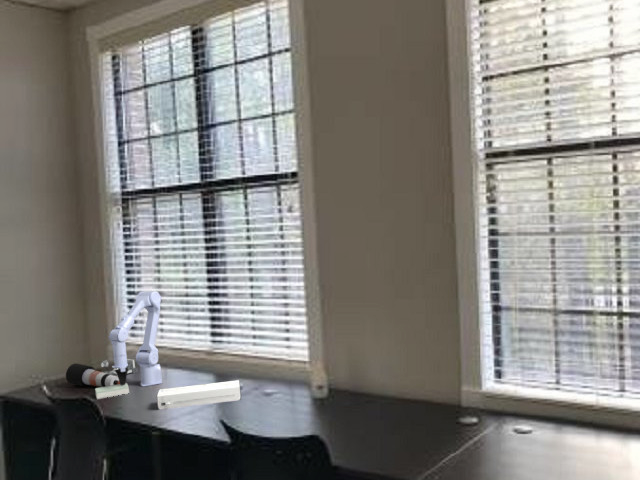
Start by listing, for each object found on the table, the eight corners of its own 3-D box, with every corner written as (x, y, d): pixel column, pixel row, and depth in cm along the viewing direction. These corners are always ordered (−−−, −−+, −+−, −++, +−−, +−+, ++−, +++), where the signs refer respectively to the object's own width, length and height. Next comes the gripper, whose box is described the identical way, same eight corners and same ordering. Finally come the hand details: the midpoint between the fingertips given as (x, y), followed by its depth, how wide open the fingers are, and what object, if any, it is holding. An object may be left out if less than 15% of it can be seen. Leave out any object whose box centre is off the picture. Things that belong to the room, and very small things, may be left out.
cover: (126, 384, 324) (126, 382, 324) (128, 388, 317) (128, 386, 317) (95, 390, 319) (94, 388, 319) (96, 393, 312) (96, 391, 312)
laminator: (240, 394, 301) (239, 379, 301) (241, 401, 289) (240, 386, 289) (160, 403, 296) (159, 389, 296) (157, 411, 284) (156, 396, 284)
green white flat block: (127, 390, 324) (126, 385, 324) (129, 393, 317) (128, 388, 317) (95, 396, 319) (95, 390, 319) (97, 399, 312) (96, 393, 312)
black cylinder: (119, 399, 327) (111, 383, 322) (70, 388, 344) (62, 372, 339) (133, 385, 334) (126, 369, 330) (85, 374, 351) (77, 359, 347)
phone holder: (105, 361, 349) (93, 360, 357) (107, 381, 350) (94, 379, 357) (136, 354, 363) (123, 352, 371) (138, 372, 364) (125, 370, 371)
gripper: (109, 354, 324) (112, 383, 325) (112, 359, 311) (115, 389, 312) (125, 351, 327) (127, 380, 328) (128, 356, 314) (131, 386, 314)
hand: (122, 384), depth 320 cm, fingers closed
